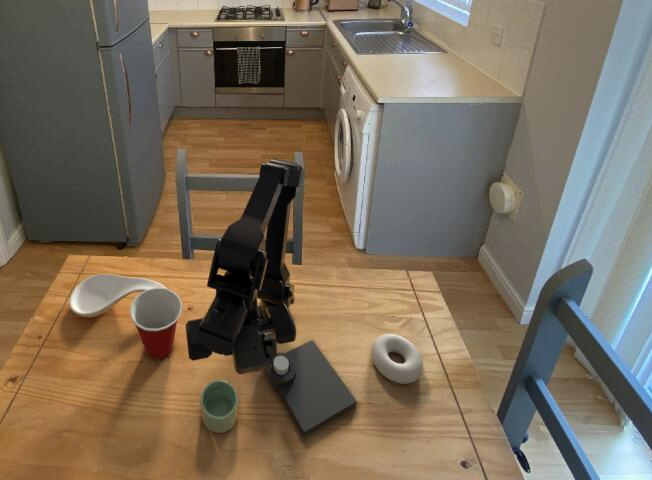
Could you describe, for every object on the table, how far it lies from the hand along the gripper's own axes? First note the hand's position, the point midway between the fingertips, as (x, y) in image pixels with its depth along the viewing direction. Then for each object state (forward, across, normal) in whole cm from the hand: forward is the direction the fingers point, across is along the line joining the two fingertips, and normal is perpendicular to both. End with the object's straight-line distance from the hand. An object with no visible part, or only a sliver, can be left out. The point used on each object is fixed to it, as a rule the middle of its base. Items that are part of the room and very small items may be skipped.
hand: (240, 362), depth 76 cm
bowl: (+11, -4, -1) cm, 12 cm away
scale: (+11, +14, 0) cm, 18 cm away
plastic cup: (+11, -15, +15) cm, 24 cm away
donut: (+11, +33, +1) cm, 35 cm away
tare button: (+8, +9, +3) cm, 13 cm away
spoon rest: (+11, -24, +27) cm, 38 cm away
